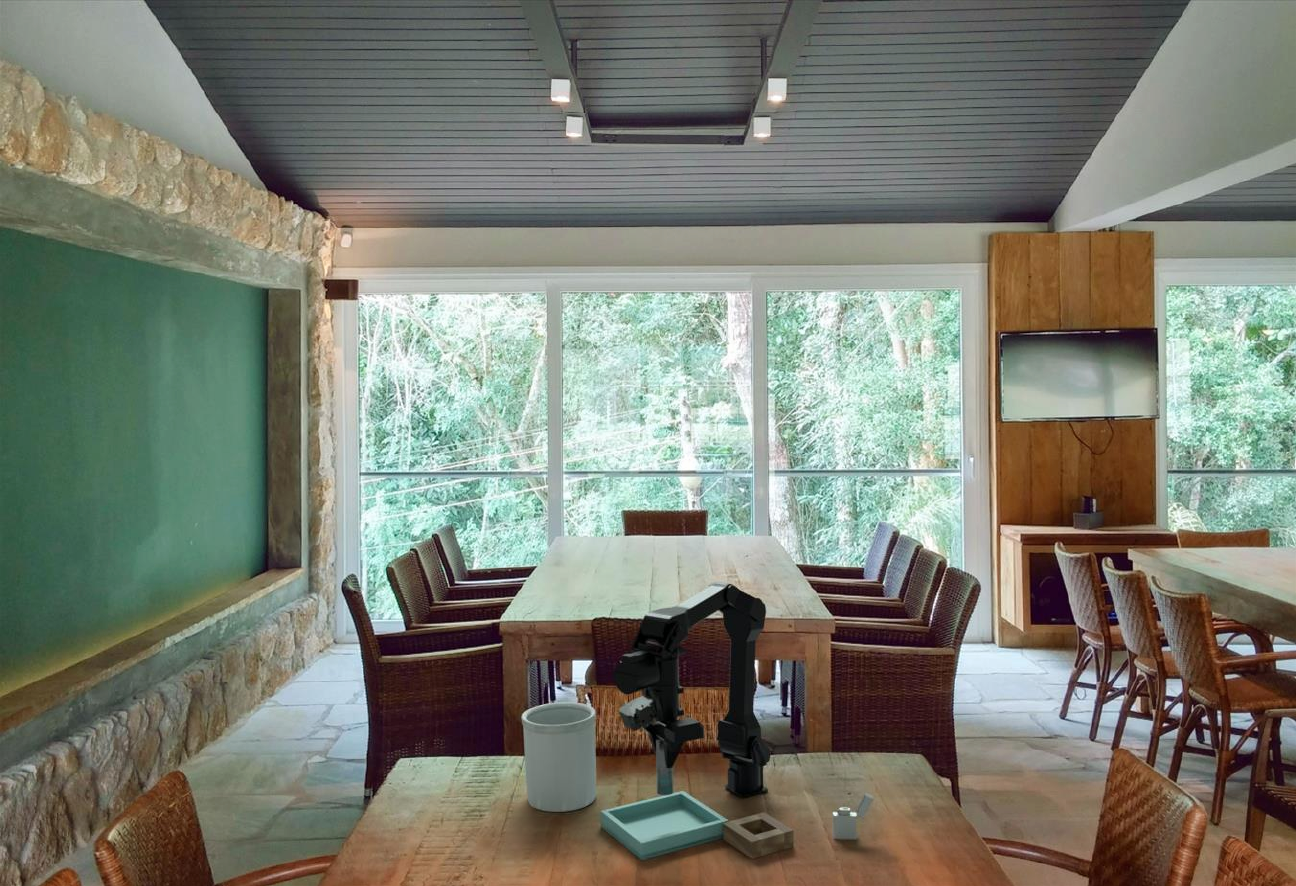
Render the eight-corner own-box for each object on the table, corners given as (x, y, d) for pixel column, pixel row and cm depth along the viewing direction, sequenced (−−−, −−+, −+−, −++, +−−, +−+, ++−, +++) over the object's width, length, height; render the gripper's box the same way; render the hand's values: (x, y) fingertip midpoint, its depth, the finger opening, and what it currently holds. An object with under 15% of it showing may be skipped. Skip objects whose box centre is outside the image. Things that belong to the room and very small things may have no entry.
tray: (683, 805, 200) (682, 790, 200) (728, 836, 186) (728, 820, 186) (600, 826, 191) (600, 810, 191) (642, 860, 177) (641, 843, 177)
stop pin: (667, 787, 190) (667, 734, 189) (676, 792, 187) (675, 739, 187) (654, 791, 188) (653, 737, 188) (662, 796, 186) (661, 742, 185)
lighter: (833, 839, 184) (833, 795, 184) (832, 834, 186) (832, 791, 185) (873, 839, 184) (873, 796, 183) (872, 835, 185) (872, 792, 185)
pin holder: (763, 828, 189) (763, 812, 189) (793, 846, 181) (793, 830, 181) (723, 839, 185) (723, 823, 185) (751, 858, 177) (751, 842, 177)
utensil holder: (510, 808, 201) (507, 720, 200) (545, 780, 214) (543, 698, 213) (577, 818, 195) (575, 728, 194) (609, 789, 209) (607, 705, 208)
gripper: (600, 676, 191) (602, 758, 192) (650, 701, 175) (652, 791, 176) (652, 667, 196) (653, 747, 197) (705, 691, 180) (706, 778, 181)
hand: (664, 765), depth 188 cm, fingers closed on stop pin, 3 cm apart
